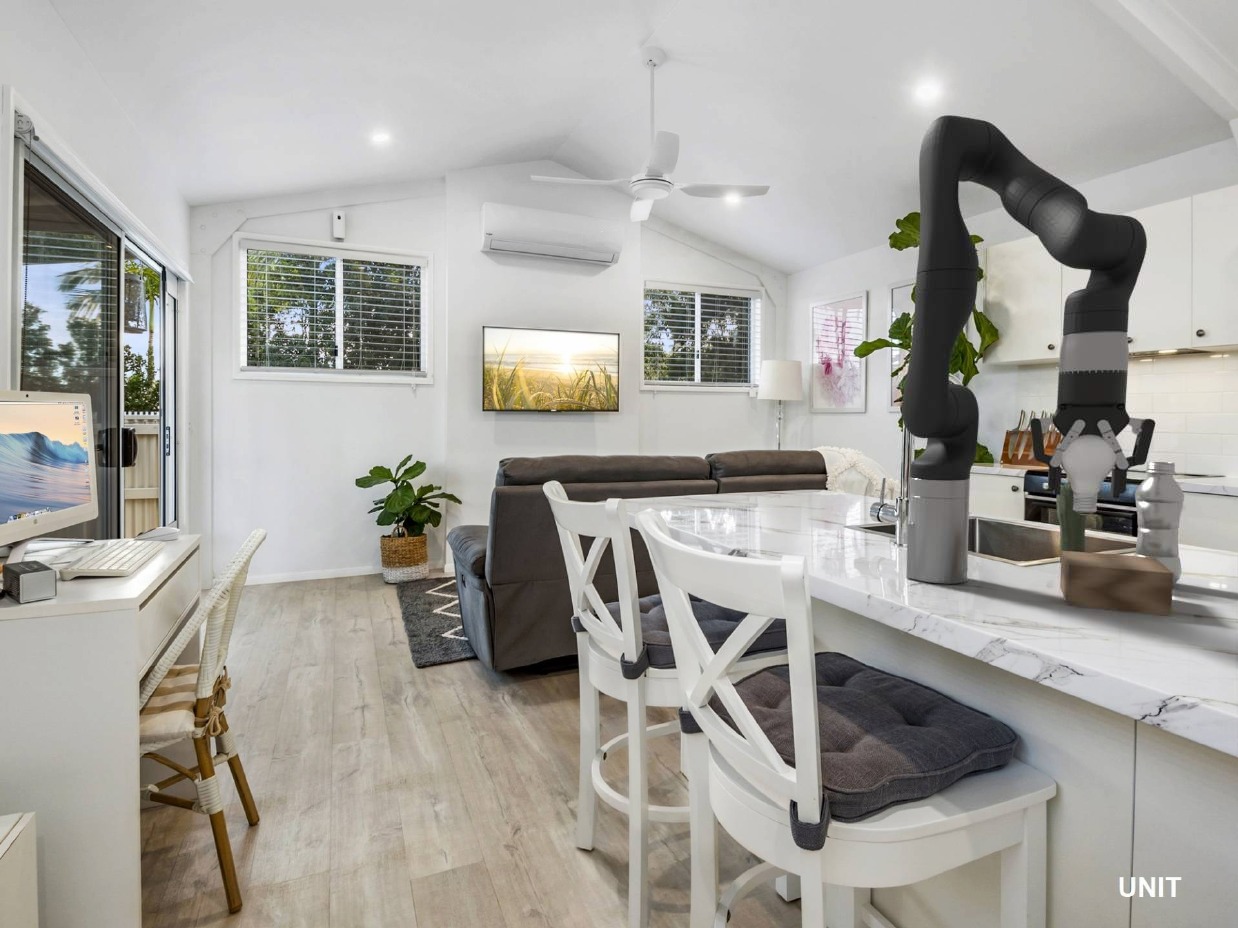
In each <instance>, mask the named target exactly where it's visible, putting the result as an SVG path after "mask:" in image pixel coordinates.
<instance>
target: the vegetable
mask: <svg viewBox="0 0 1238 928" xmlns="http://www.w3.org/2000/svg"><path fill="white" fill-rule="evenodd" d="M1065 477H1066V481H1067V482H1065V483H1062V484H1061V493H1060V495H1056V500H1055V501H1056V514H1057V519H1058V521H1059V522H1058V523H1059V531H1060V532H1059V533H1060V534H1059V535H1060V540H1059V551H1060V552H1059V556H1060V557H1059V561H1060V564H1061V552H1062V551H1073V552H1086V541H1085V540H1086V521H1087V520H1086V519H1087V515H1081V514H1079V513H1077V512H1076V511H1074V510H1073V508H1074V507H1073V505H1074V503H1073V502H1074V500H1073V499H1074V497H1073V493H1074V492H1073V490H1072V488H1071V483H1070V479H1069V477H1068V476H1067V475H1066V476H1065Z"/></svg>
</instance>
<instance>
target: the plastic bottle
mask: <svg viewBox="0 0 1238 928" xmlns="http://www.w3.org/2000/svg"><path fill="white" fill-rule="evenodd" d="M1175 467H1176V463H1175V462H1170V461H1169V462H1164V461H1148V462H1147V461H1146V470H1145V474H1147V477H1146V478H1145V479H1144V480H1143V481H1142V482H1141V483H1140V484H1139V485H1138V487H1137V488H1136V490H1135V493H1134V496H1135V497H1134V499H1135V506H1136V514H1137V526H1138V527H1137V537H1136V546H1135V552H1134V555H1133V556H1142V557H1155V558H1156V559H1157V560H1158V561H1159V562H1161V563H1162V564H1163V565H1164V566H1165V567H1166V568H1168V569H1169V570H1170V571H1171V572H1172V573H1173V585H1175V584H1176V583H1178V581H1179V580H1180V579H1181V576H1182V564H1181V558H1180V552H1179V549H1180V548H1179V528H1180V519H1181V516H1182V511H1183V507H1184V506H1183V505H1184V501H1185V494H1184V491H1183V489H1182V488H1181V485H1180V484H1179V483H1178V482H1177V481H1176V480H1175V478H1174V477H1173V475H1175V474H1176V471H1175V470H1176V468H1175Z"/></svg>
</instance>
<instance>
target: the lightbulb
mask: <svg viewBox="0 0 1238 928" xmlns="http://www.w3.org/2000/svg"><path fill="white" fill-rule="evenodd" d="M1068 443H1069V442H1067V444H1068ZM1115 461H1116V454H1115V453H1114V452H1113V450H1112V448H1111V447H1110V445H1109V444H1108V443H1106V442H1105V440H1104V439H1103V438H1102V437H1100V436H1096V435H1082V436H1079V437H1077V439H1076V440H1075V441H1074V442H1073V443H1072V444H1071V445H1070V446H1069V447H1068V448H1067V450H1066V451H1064V452H1063V454H1062V462H1061V464H1060V467H1061V468H1062V471H1064V472H1065V474H1066V477H1067V476H1068V477H1069V479H1070V483H1071V488H1072V490H1073V492H1074V493H1073V497H1074V499H1073V500H1074V502H1073V503H1074V505H1073V507H1074V508H1073V510H1074V511H1076V512H1077V513H1079V514H1081V515H1086V516H1089V515H1092V514H1093V513H1096V512H1097V511H1098V510H1097V509H1098V508H1097V507H1098V505H1097V504H1098V502H1097V501H1098V497H1099V493H1100V491H1101V488H1102V485H1103V483H1104V481H1105V479H1106V478H1107V476H1109V475H1110V474H1111V473H1112V469H1114V466H1115V464H1116V463H1115Z"/></svg>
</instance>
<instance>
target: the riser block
mask: <svg viewBox="0 0 1238 928" xmlns="http://www.w3.org/2000/svg"><path fill="white" fill-rule="evenodd" d="M1059 583H1060V585H1059V587H1060V591H1061V592H1062V593H1061V594H1062V595H1063V598H1064V600H1065V603H1066V605H1067V606H1073V607H1082V608H1090V609H1092V608H1093V609H1100V610H1101V609H1102V610H1108V611H1109V610H1110V611H1118V612H1119V611H1120V612H1130V613H1139V614H1148V615H1156V616H1157V615H1158V616H1168V617H1170V616H1172V607H1173V606H1172V601H1173V585H1174V584H1173V573H1172V572H1171V571H1170V570H1169V569H1168V568H1166V567H1165V566H1164V565H1163V564H1162V563H1161V562H1159V561H1158V560H1157V559H1156V558H1155V557H1142V556H1134V555H1127V554H1125V555H1124V554H1113V553H1112V554H1110V553H1099V552H1097V553H1096V552H1086V551H1085V552H1073V551H1062V552H1061V563H1060V582H1059Z"/></svg>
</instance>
